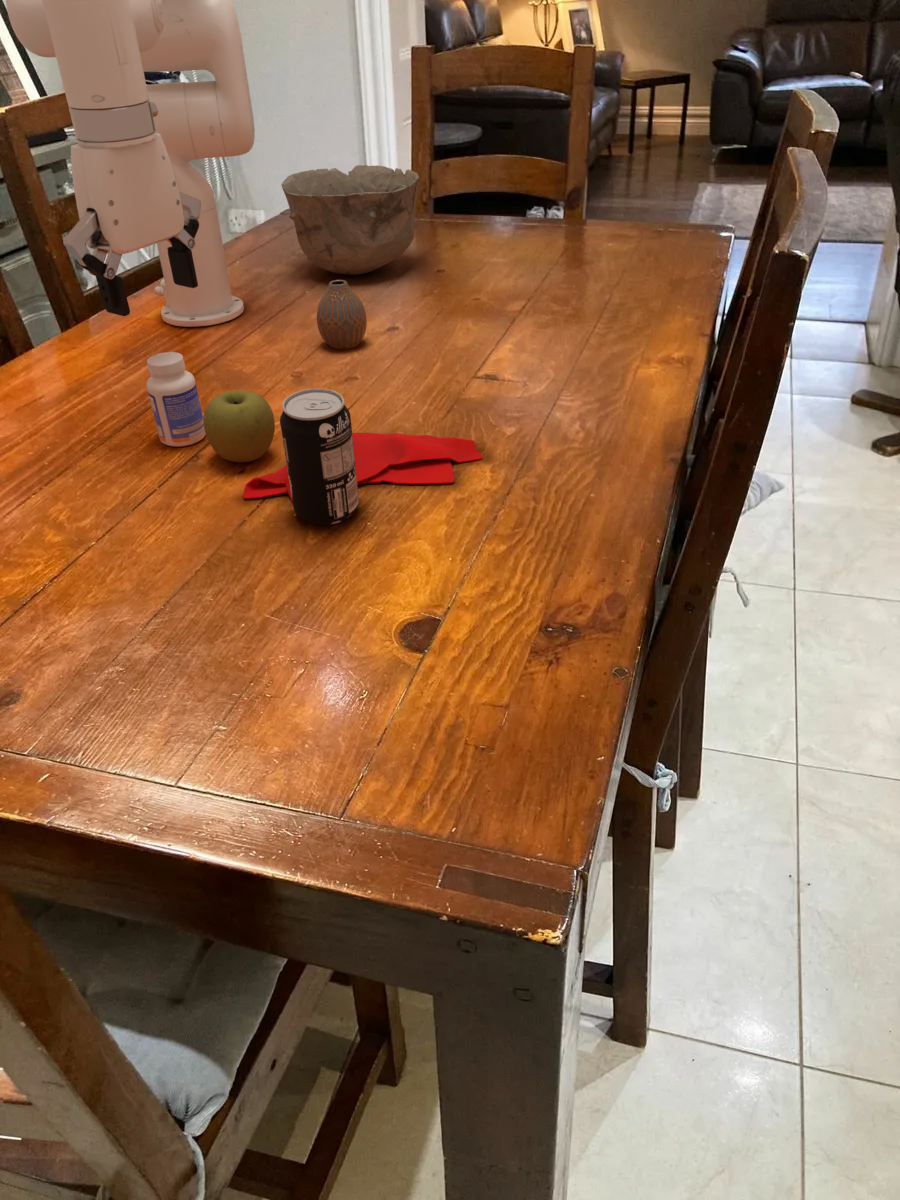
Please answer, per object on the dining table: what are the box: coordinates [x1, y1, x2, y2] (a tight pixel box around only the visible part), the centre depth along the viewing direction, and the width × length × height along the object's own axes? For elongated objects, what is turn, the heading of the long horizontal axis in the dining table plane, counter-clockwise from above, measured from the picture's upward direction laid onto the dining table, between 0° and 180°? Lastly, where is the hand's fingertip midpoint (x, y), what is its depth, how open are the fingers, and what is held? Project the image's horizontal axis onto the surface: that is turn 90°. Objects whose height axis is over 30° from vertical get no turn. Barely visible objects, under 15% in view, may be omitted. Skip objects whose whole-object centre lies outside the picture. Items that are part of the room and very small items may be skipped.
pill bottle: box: [146, 351, 206, 448], centre depth 107 cm, size 5×5×10 cm
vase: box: [316, 279, 368, 350], centre depth 130 cm, size 7×7×9 cm
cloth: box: [242, 432, 484, 504], centre depth 102 cm, size 26×14×2 cm, turn 99°
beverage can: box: [279, 388, 360, 526], centre depth 90 cm, size 7×7×12 cm
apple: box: [203, 389, 276, 463], centre depth 103 cm, size 8×8×7 cm
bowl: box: [281, 164, 420, 276], centre depth 157 cm, size 22×22×15 cm
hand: (153, 299), depth 101 cm, fingers open, 9 cm apart
